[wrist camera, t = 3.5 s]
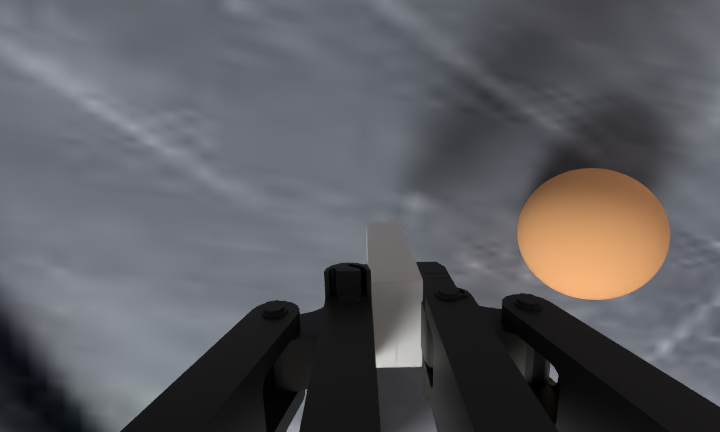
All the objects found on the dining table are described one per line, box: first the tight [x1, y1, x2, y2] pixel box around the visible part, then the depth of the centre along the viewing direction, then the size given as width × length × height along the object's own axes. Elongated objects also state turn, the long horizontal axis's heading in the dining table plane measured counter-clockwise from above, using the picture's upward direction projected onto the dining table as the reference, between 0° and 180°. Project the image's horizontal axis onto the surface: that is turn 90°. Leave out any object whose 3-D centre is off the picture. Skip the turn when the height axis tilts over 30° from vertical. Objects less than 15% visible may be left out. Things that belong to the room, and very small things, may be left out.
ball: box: [517, 168, 670, 300], centre depth 18 cm, size 6×6×6 cm
